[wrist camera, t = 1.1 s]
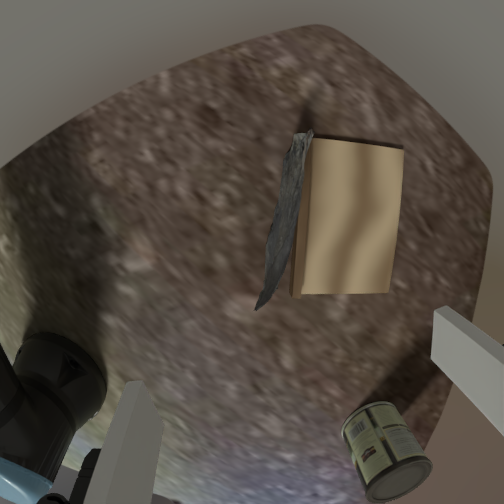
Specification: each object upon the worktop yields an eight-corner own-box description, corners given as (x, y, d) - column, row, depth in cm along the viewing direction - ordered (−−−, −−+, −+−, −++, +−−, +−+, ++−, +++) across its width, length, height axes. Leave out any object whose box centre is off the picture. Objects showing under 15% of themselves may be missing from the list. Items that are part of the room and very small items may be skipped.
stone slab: (263, 292, 39) (275, 332, 29) (248, 289, 38) (256, 329, 29) (296, 138, 34) (322, 129, 25) (280, 135, 34) (300, 123, 25)
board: (289, 292, 39) (292, 298, 37) (298, 137, 34) (302, 135, 32) (386, 291, 40) (392, 296, 38) (401, 150, 35) (409, 149, 33)
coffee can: (384, 440, 48) (413, 496, 34) (333, 445, 47) (355, 508, 33) (406, 398, 45) (445, 454, 32) (352, 401, 44) (384, 467, 31)
